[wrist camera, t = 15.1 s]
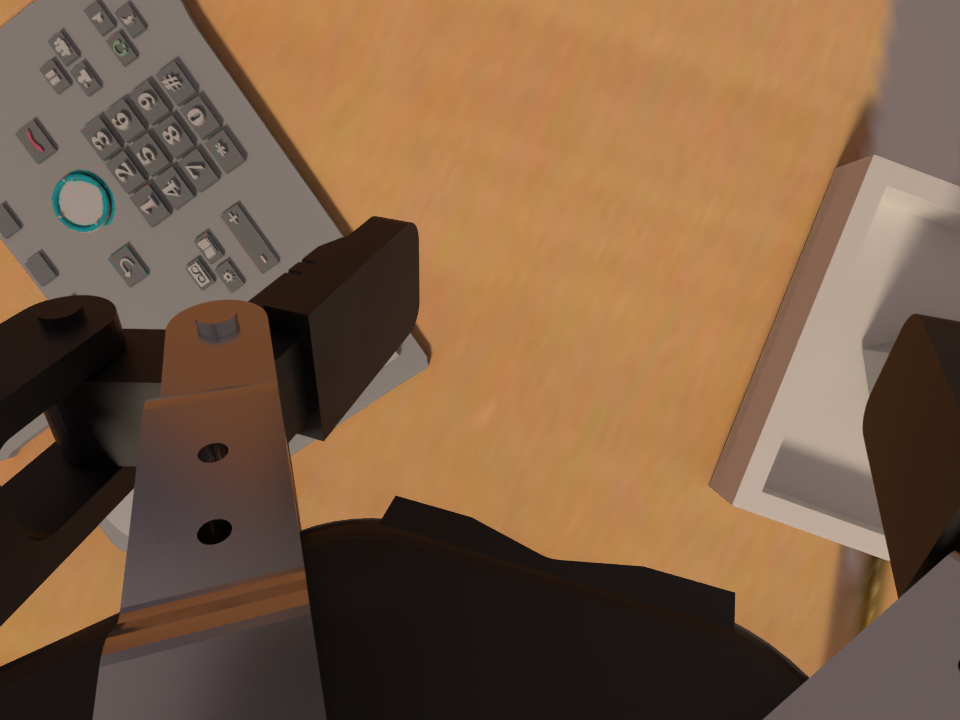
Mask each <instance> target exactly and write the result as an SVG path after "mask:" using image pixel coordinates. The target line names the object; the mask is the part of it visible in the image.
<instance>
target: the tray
mask: <svg viewBox="0 0 960 720" xmlns="http://www.w3.org/2000/svg"><path fill="white" fill-rule="evenodd" d="M913 314H921V315H927V316H932V317H938V318H943V319H949V320H955V321H960V186H957V185H955V184H952V183H949V182H946V181H944V180H941V179H939V178H936V177H933V176H930V175H928V174H925V173H922V172H920V171H917V170H915V169H912V168H909V167H906V166H904V165H901V164H899V163H896V162H893V161H891V160H888V159H885V158H883V157H880V156H878V155H875V154H873V155H870V156H868V157H865V158H862V159H859V160H857V161H854V162H851V163H848V164H846V165H843V166H840V167H837V168H836V169H835V171H834V174H833V176H832V179H831V181H830V184H829V186H828V189H827V191H826V194H825V196H824V199H823V201H822V204H821V206H820V209H819V211H818V214H817V216H816V219H815V221H814V224H813V226H812V229H811V231H810V234H809V236H808V239H807V241H806V244H805V246H804V249H803V251H802V254H801V256H800V259H799V261H798V264H797V266H796V269H795V271H794V274H793V276H792V279H791V281H790V284H789V286H788V289H787V291H786V294H785V296H784V299H783V301H782V304H781V306H780V309H779V311H778V314H777V316H776V319H775V321H774V324H773V326H772V329H771V331H770V334H769V336H768V339H767V341H766V344H765V346H764V349H763V351H762V354H761V356H760V359H759V361H758V364H757V366H756V369H755V371H754V374H753V376H752V379H751V381H750V384H749V386H748V389H747V391H746V394H745V396H744V399H743V401H742V404H741V406H740V409H739V411H738V414H737V416H736V419H735V421H734V424H733V426H732V429H731V431H730V434H729V436H728V439H727V441H726V444H725V446H724V449H723V451H722V454H721V456H720V459H719V461H718V464H717V466H716V469H715V471H714V474H713V476H712V479H711V481H710V484H709V487H710V488H712V489H713V490H714V491H715V492H716V493H718V494H719V495H720V496H721V497H723V498H724V499H725V500H726V501H727V502H729V503H730V504H731V505H733V506H735V507H738V508H741V509H744V510H747V511H750V512H752V513H755V514H758V515H761V516H764V517H767V518H769V519H772V520H775V521H778V522H781V523H783V524H786V525H789V526H792V527H795V528H798V529H800V530H803V531H806V532H809V533H812V534H814V535H817V536H820V537H823V538H826V539H829V540H831V541H834V542H837V543H840V544H843V545H845V546H848V547H851V548H854V549H857V550H860V551H862V552H865V553H868V554H871V555H874V556H876V557H879V558H882V559H885V560H888V561H890V558H889V553H888V549H887V544H886V539H885V535H884V530H883V526H882V521H881V516H880V512H879V507H878V502H877V498H876V493H875V489H874V484H873V479H872V475H871V470H870V465H869V461H868V456H867V452H866V447H865V442H864V438H863V429H862V427H863V417H864V412H865V407H866V404H867V401H868V398H869V391H868V384H867V377H866V371H865V364H864V358H863V351H862V349H863V348H865V347H870V346H875V345H880V344H885V343H890V342H895V341H896V339H897V337H898V335H899V332H900V330H901V328H902V327H903V325H904V323H905V322H906V320H907V319H908V318H909V317H910V316H911V315H913Z"/></svg>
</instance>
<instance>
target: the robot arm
mask: <svg viewBox="0 0 960 720" xmlns="http://www.w3.org/2000/svg"><path fill="white" fill-rule="evenodd" d="M418 310H419V236H418V230H417V227H416V225H415V224H414V223H411V222H405V221H400V220H394V219H388V218H383V217H377V216H373V217H371V218H370V219H368V220H367V221H366V222H365V223H364V224H362V225H361V226H360V227H359V228H357V229H356V230H355V231H354V232H352V233H351V234H350V235H349V236H348V237H342V238H339V239H336V240H334V241H331V242H328V243H326V244H323V245H321V246H318V247H317V248H316V249H314V250H313V251H312V252H310V253H309V254H308V255H307V256H305V257H304V258H303V259H302V262H298V263H296V264H295V265H294V266H293V267H291V268H290V269H289V270H288V273H284V274H282V275H281V276H280V277H278V278H277V279H276V280H275V281H273V282H272V283H271V284H270V285H268V286H267V287H266V288H264V289H263V290H262V291H261V292H259V293H258V294H257V295H255V296H254V297H253V298H252V299H250V300H249V301H248V302H247V301H242V300H216V301H209V302H205V303H201V304H198V305H195V306H192V307H190V308H187V309H185V310H183V311H182V312H180V313H178V314H177V315H176V316H174V317H173V318H172V319H171V320H170V321H169V323H168V325H167V327H166V329H122V326H121V322H120V319H119V316H118V313H117V310H116V306H115V305H114V304H113V303H112V302H111V301H110V300H108V299H105V298H102V297H98V296H92V295H73V296H64V297H59V298H54V299H50V300H47V301H44V302H41V303H38V304H35V305H33V306H31V307H28V308H27V309H25V310H23V311H21V312H19V313H18V314H16V315H14V316H13V317H11V318H9V319H8V320H6V321H4V322H3V323H1V324H0V450H1V448H2V447H3V445H4V444H5V443H6V442H7V441H8V440H9V439H10V438H11V437H13V436H14V435H15V434H16V433H18V432H19V431H20V430H22V429H23V428H24V427H25V426H27V425H28V424H29V423H31V422H32V421H33V420H34V419H36V418H37V417H38V416H40V415H41V414H42V413H44V415H45V417H46V420H47V422H48V424H49V426H50V429H51V431H52V433H53V436H54V438H55V440H56V442H54V443H53V444H52V445H51V446H50V447H48V448H47V449H46V450H45V451H44V452H42V453H41V454H40V455H39V456H38V457H36V458H35V459H34V460H33V461H32V462H30V463H29V464H28V465H27V466H26V467H24V468H23V469H22V470H21V471H20V472H19V473H17V474H16V475H15V476H14V477H13V478H11V479H10V480H9V481H8V482H7V483H5V484H4V485H3V486H2V487H1V486H0V626H1V625H2V624H3V623H4V622H5V621H6V620H7V619H8V618H9V617H10V616H11V615H12V614H13V613H14V612H15V611H16V610H17V609H18V608H19V607H20V606H21V605H22V604H23V603H24V602H25V601H26V599H27V598H28V597H29V596H30V595H31V594H32V593H33V592H34V591H35V590H36V589H37V588H38V587H39V586H40V585H41V584H42V583H43V582H44V581H45V580H46V579H47V578H48V577H49V576H50V575H51V574H52V573H53V572H54V571H55V570H56V568H57V567H58V566H59V565H60V564H61V563H62V562H63V561H64V560H65V559H66V558H67V557H68V556H69V555H70V554H71V553H72V552H73V551H74V550H75V549H76V548H77V547H78V546H79V545H80V544H81V543H82V542H83V541H84V540H85V538H86V537H87V536H88V535H89V534H90V533H91V532H92V531H93V530H94V529H95V528H96V527H97V526H98V525H99V524H100V523H101V522H102V521H103V520H104V519H105V518H106V517H107V516H108V515H109V514H110V513H111V512H112V511H113V510H114V508H115V507H116V506H117V505H118V504H119V503H120V502H121V501H122V500H123V499H124V498H125V497H126V496H127V495H128V494H129V493H130V492H131V491H132V490H133V489H134V493H133V502H132V511H131V520H130V529H129V538H128V546H127V555H126V564H125V573H124V582H123V591H122V600H121V608H120V612H119V613H117V614H115V615H113V616H111V617H108V618H106V619H104V620H102V621H100V622H97V623H95V624H93V625H91V626H89V627H86V628H84V629H82V630H80V631H78V632H75V633H73V634H71V635H69V636H67V637H64V638H62V639H60V640H58V641H56V642H53V643H51V644H49V645H47V646H45V647H43V648H40V649H38V650H36V651H34V652H32V653H29V654H27V655H25V656H23V657H21V658H18V659H16V660H14V661H12V662H10V663H7V664H5V665H3V666H1V667H0V720H960V321H955V320H949V319H943V318H938V317H932V316H927V315H921V314H913V315H911V316H910V317H909V318H908V319H907V320H906V322H905V323H904V325H903V327H902V328H901V330H900V332H899V335H898V337H897V339H896V341H895V343H894V345H893V347H892V349H891V351H890V354H889V356H888V358H887V360H886V362H885V364H884V366H883V368H882V370H881V372H880V375H879V377H878V379H877V381H876V383H875V385H874V387H873V389H872V391H871V394H870V396H869V398H868V401H867V404H866V407H865V412H864V417H863V427H862V429H863V438H864V442H865V447H866V452H867V456H868V461H869V465H870V470H871V475H872V479H873V484H874V489H875V493H876V498H877V502H878V507H879V512H880V516H881V521H882V526H883V530H884V535H885V539H886V544H887V549H888V553H889V558H890V563H891V567H892V572H893V576H894V581H895V586H896V590H897V595H898V600H897V601H896V602H894V603H893V604H892V605H891V606H890V607H889V608H888V609H887V610H885V611H884V612H883V613H882V614H881V615H880V616H879V617H878V618H876V619H875V620H874V621H873V622H872V623H871V624H870V625H869V626H867V627H866V628H865V629H864V630H863V631H862V632H861V633H860V634H858V635H857V636H856V637H855V638H854V639H853V640H852V641H851V642H849V643H848V644H847V645H846V646H845V647H844V648H843V649H842V650H840V651H839V652H838V653H837V654H836V655H835V656H834V657H833V658H831V659H830V660H829V661H828V662H827V663H826V664H825V665H824V666H823V667H821V668H820V669H819V670H818V671H817V672H816V673H815V674H814V675H812V676H811V677H810V678H809V677H808V676H807V675H806V674H805V673H804V672H802V671H801V670H800V669H799V668H798V667H797V666H796V665H795V664H794V663H793V662H792V661H791V660H789V659H788V658H787V657H786V656H784V655H783V654H782V653H780V652H779V651H778V650H777V649H775V648H774V647H773V646H772V645H770V644H769V643H767V642H766V641H764V640H763V639H761V638H760V637H758V636H757V635H755V634H753V633H752V632H750V631H749V630H747V629H745V628H744V627H742V626H740V625H738V624H736V623H734V618H735V593H734V592H731V591H727V590H724V589H720V588H717V587H713V586H710V585H706V584H703V583H699V582H696V581H692V580H689V579H685V578H682V577H678V576H675V575H671V574H668V573H664V572H661V571H657V570H654V569H650V568H647V567H643V566H630V565H617V564H604V563H591V562H578V561H565V560H555V559H551V558H547V557H545V556H543V555H540V554H539V553H537V552H535V551H533V550H531V549H529V548H527V547H526V546H524V545H522V544H520V543H518V542H516V541H514V540H513V539H511V538H509V537H507V536H505V535H503V534H501V533H500V532H498V531H496V530H494V529H492V528H490V527H488V526H487V525H485V524H483V523H481V522H479V521H477V520H475V519H474V518H472V517H468V516H465V515H461V514H458V513H454V512H451V511H447V510H444V509H440V508H437V507H433V506H430V505H426V504H423V503H419V502H416V501H412V500H409V499H405V498H402V497H398V496H395V498H394V499H393V501H392V503H391V504H390V506H389V508H388V509H387V511H386V513H385V514H384V516H383V518H382V519H378V518H363V519H349V520H341V521H334V522H330V523H325V524H321V525H317V526H313V527H310V528H307V529H304V530H302V527H301V521H300V514H299V508H298V501H297V495H296V488H295V482H294V475H293V469H292V462H291V456H290V450H289V442H290V441H291V440H292V439H293V437H294V436H295V435H296V434H299V435H303V436H306V437H310V438H314V439H317V440H321V441H324V440H325V439H326V438H327V437H328V435H329V434H330V433H331V432H332V430H333V429H334V428H335V427H336V425H337V424H338V423H339V422H340V420H341V419H342V418H343V417H344V415H345V414H346V413H347V412H348V410H349V409H350V408H351V407H352V405H353V404H354V403H355V402H356V400H357V399H358V398H359V397H360V395H361V394H362V393H363V392H364V390H365V389H366V388H367V387H368V385H369V384H370V383H371V382H372V380H373V379H374V378H375V377H376V375H377V374H378V373H379V372H380V370H381V369H382V368H383V367H384V365H385V364H386V363H387V362H388V360H389V359H390V358H391V357H392V355H393V354H394V353H395V352H396V350H397V349H398V348H399V347H400V345H401V344H402V343H403V342H404V340H405V339H406V338H407V337H408V335H409V334H410V333H411V331H412V329H413V327H414V325H415V322H416V319H417V315H418Z"/></svg>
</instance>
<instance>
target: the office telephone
mask: <svg viewBox="0 0 960 720" xmlns="http://www.w3.org/2000/svg"><path fill="white" fill-rule="evenodd" d="M90 176H93V177H94V178H95V179H97V180H95V179H93V178H92V177H90ZM342 237H345V236H344V235H343V234H342V232H341V231H340V229H339V228H338V227H337V225H336V224H335V222H334V221H333V219H332V218H331V217H330V215H329V214H328V212H327V211H326V209H325V208H324V207H323V205H322V204H321V202H320V201H319V200H318V198H317V197H316V195H315V194H314V192H313V191H312V190H311V188H310V187H309V185H308V184H307V182H306V181H305V180H304V178H303V177H302V175H301V174H300V172H299V171H298V170H297V168H296V167H295V165H294V164H293V163H292V161H291V160H290V158H289V157H288V155H287V154H286V153H285V151H284V150H283V148H282V147H281V145H280V144H279V143H278V141H277V140H276V138H275V137H274V135H273V134H272V133H271V131H270V130H269V128H268V127H267V125H266V124H265V123H264V121H263V120H262V118H261V117H260V116H259V114H258V113H257V111H256V110H255V108H254V107H253V106H252V104H251V103H250V101H249V100H248V98H247V97H246V96H245V94H244V93H243V91H242V90H241V88H240V87H239V86H238V84H237V83H236V81H235V80H234V78H233V77H232V76H231V74H230V73H229V71H228V70H227V68H226V67H225V66H224V64H223V63H222V61H221V60H220V58H219V57H218V56H217V54H216V53H215V51H214V50H213V48H212V47H211V45H210V44H209V42H208V41H207V40H206V38H205V37H204V35H203V34H202V32H201V31H200V29H199V27H198V26H197V24H196V22H195V21H194V19H193V17H192V14H191V12H190V11H189V9H188V7H187V5H186V4H185V2H184V1H183V0H35V1H34V2H33V3H32V4H30V5H29V6H28V7H26V8H25V9H24V10H23V11H21V12H20V13H19V14H18V15H16V16H15V17H14V18H13V19H11V20H10V21H9V22H7V23H6V24H5V25H4V26H2V27H1V28H0V239H1V240H2V241H3V242H4V244H5V245H6V246H7V247H8V249H9V250H10V251H11V253H12V254H13V255H14V256H15V258H16V259H17V260H18V262H19V263H20V264H21V265H22V267H23V268H24V269H25V271H26V272H27V273H28V275H29V276H30V277H31V278H32V280H33V281H34V282H35V284H36V285H37V286H38V287H39V289H40V290H41V291H42V293H43V294H44V295H45V297H46V298H47V299H48V300H50V299H54V298H59V297H64V296H73V295H92V296H98V297H102V298H105V299H108V300H110V301H111V302H112V303H113V304H114V305H115V306H116V310H117V313H118V316H119V319H120V322H121V326H122V329H166V327H167V325H168V323H169V321H170V320H171V319H172V318H173V317H174V316H176V315H177V314H178V313H180V312H182V311H183V310H185V309H187V308H190V307H192V306H195V305H198V304H201V303H205V302H209V301H216V300H242V301H247V302H248V301H249V300H250V299H252V298H253V297H254V296H255V295H257V294H258V293H259V292H261V291H262V290H263V289H264V288H266V287H267V286H268V285H270V284H271V283H272V282H273V281H275V280H276V279H277V278H278V277H280V276H281V275H282V274H284V273H288V270H289V269H290V268H291V267H293V266H294V265H295V264H296V263H298V262H302V259H303V258H304V257H305V256H307V255H308V254H309V253H310V252H312V251H313V250H314V249H316V248H317V247H318V246H321V245H323V244H326V243H328V242H331V241H334V240H336V239H339V238H342ZM428 365H429V362H428V356H427V354H426V353H425V351H424V350H423V349H422V347H421V346H420V344H419V343H418V341H417V340H416V338H415V337H414V335H413V334H412V332H411V333H410V334H409V335H408V337H407V338H406V339H405V340H404V342H403V343H402V344H401V345H400V347H399V348H398V349H397V350H396V352H395V353H394V354H393V355H392V357H391V358H390V359H389V360H388V362H387V363H386V364H385V365H384V367H383V368H382V369H381V370H380V372H379V373H378V374H377V375H376V377H375V378H374V379H373V380H372V382H371V383H370V384H369V385H368V387H367V388H366V389H365V390H364V392H363V393H362V394H361V395H360V397H359V398H358V399H357V400H356V402H355V403H354V404H353V405H352V407H351V408H350V409H349V410H348V412H347V413H346V414H345V415H344V417H343V418H342V419H341V420H340V422H339V423H338V424H337V425H339V424H340V423H342V422H343V421H345V420H346V419H348V418H349V417H351V416H353V415H354V414H356V413H357V412H359V411H360V410H362V409H363V408H365V407H366V406H368V405H369V404H371V403H372V402H374V401H375V400H377V399H378V398H380V397H381V396H383V395H384V394H386V393H387V392H389V391H391V390H392V389H394V388H395V387H397V386H398V385H400V384H401V383H403V382H405V381H406V380H408V379H410V378H411V377H413V376H414V375H416V374H418V373H419V372H421V371H423V370H424V369H426V368H427V367H428ZM337 425H336V426H337ZM48 427H50V426H49V424H48V422H47V420H46V417H45V415H44V413H42V414H41V415H40V416H38V417H37V418H36V419H34V420H33V421H32V422H31V423H29V424H28V425H27V426H25V427H24V428H23V429H22V430H20V431H19V432H18V433H16V434H15V435H14V436H13V437H11V438H10V439H9V440H8V441H7V442H6V443H5V444H4V445H3V447H2V448H1V450H0V461H3V460H6V459H9V458H12V457H14V456H16V455H17V454H18V452H19V451H20V449H21V448H22V447H24V446H25V445H26V444H27V443H28V442H30V441H31V440H32V439H33V438H35V437H36V436H37V435H39V434H40V433H42V432H43V431H44V430H46V429H47V428H48ZM315 440H316V439H314V438H310V437H306V436H303V435H299V434H296V435H295V436H294V437H293V439H292V440H291V441H290V442H289V450H290V456H292V455H293V454H295V453H296V452H298V451H299V450H301V449H302V448H304V447H305V446H307V445H308V444H310V443H311V442H313V441H315ZM133 493H134V489H133V490H132V491H131V492H130V493H129V494H128V495H127V496H126V497H125V498H124V499H123V500H122V501H121V502H120V503H119V504H118V505H117V506H116V507H115V508H114V510H113V511H112V512H111V513H110V514H109V515H108V516H107V517H106V518H105V519H104V520H103V521H102V522H101V523H100V524H99V526H100V528H101V529H102V530H103V532H104V533H105V534H106V535H107V537H108V538H109V539H110V541H111V542H112V543H113V544H114V545H115V546H116V547H117V548H118V549H120V550H122V551H127V546H128V538H129V529H130V520H131V511H132V502H133Z"/></svg>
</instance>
